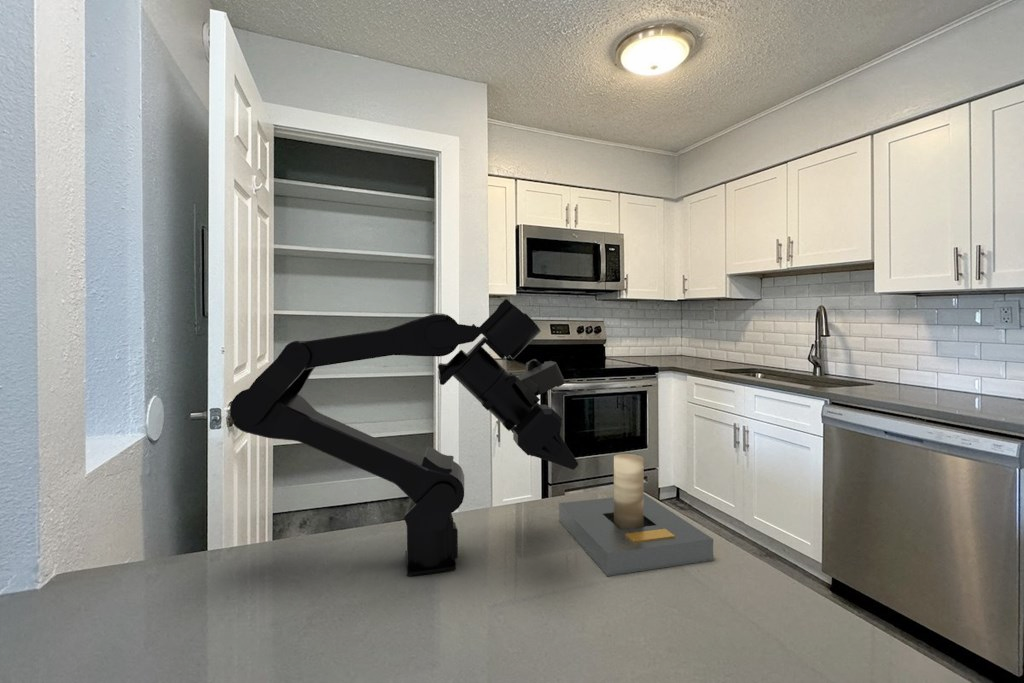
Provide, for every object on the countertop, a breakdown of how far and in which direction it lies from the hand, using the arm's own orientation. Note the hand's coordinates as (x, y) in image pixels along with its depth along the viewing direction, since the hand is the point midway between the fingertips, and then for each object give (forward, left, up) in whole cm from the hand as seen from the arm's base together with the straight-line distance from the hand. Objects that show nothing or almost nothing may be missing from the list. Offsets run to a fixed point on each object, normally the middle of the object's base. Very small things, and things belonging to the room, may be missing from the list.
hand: (566, 457), depth 66 cm
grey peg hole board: (+11, +1, -14) cm, 17 cm away
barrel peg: (+11, +1, -14) cm, 17 cm away
